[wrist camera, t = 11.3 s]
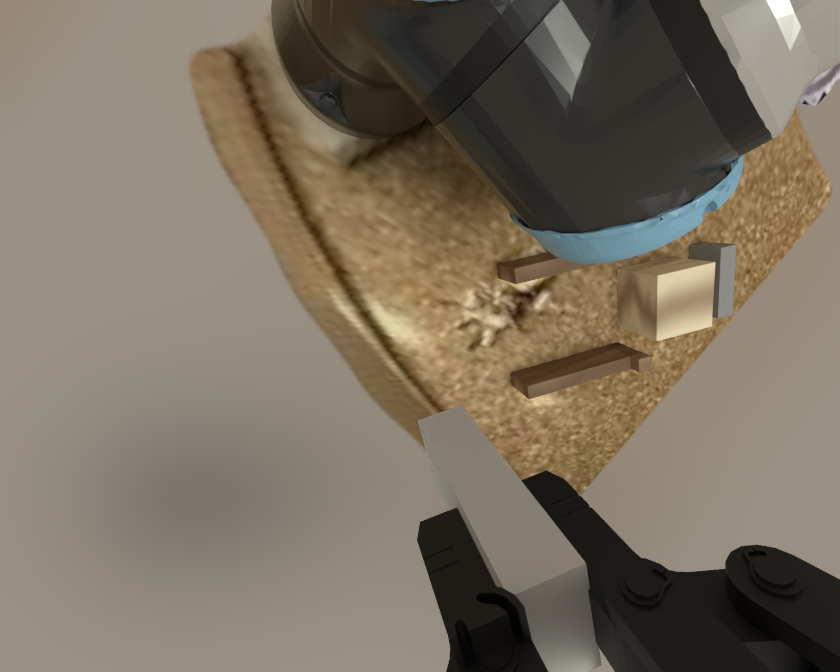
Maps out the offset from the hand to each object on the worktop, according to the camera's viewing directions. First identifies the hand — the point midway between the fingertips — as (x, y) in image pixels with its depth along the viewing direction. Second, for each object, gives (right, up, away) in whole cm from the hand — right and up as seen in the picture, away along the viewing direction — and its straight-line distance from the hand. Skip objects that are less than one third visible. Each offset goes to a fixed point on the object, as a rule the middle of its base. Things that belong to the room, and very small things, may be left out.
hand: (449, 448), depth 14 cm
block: (+25, +9, +35) cm, 44 cm away
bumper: (+32, +11, +36) cm, 50 cm away
